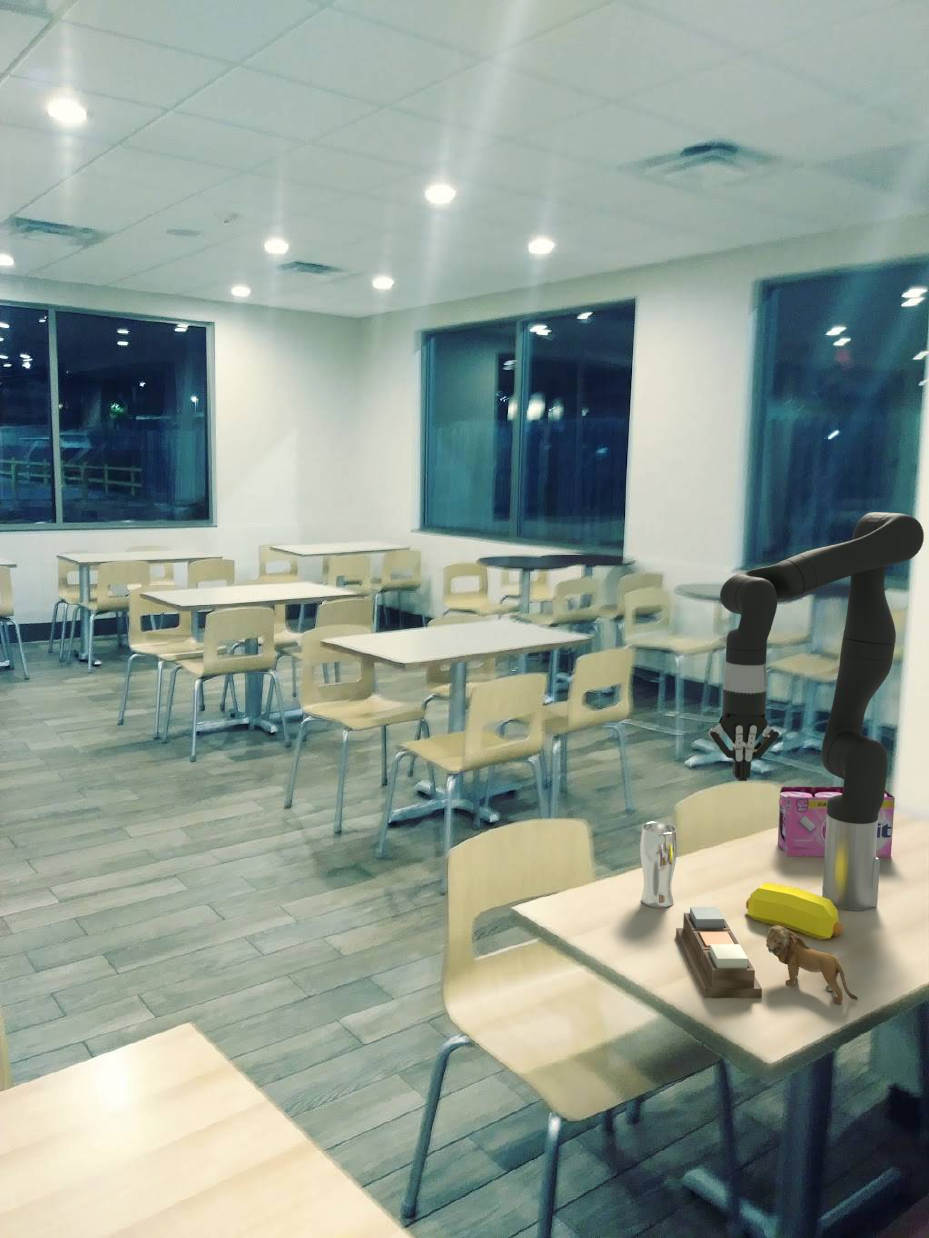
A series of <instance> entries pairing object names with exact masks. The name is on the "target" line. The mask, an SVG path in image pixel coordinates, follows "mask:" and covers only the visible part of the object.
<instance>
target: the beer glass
mask: <svg viewBox="0 0 929 1238" xmlns="http://www.w3.org/2000/svg"><path fill="white" fill-rule="evenodd" d="M639 847H640V848H639V849H640V851H639V852H640V853H639V855H640V862H641V868H642V875H643V889H642V894H641V902H642V903H643V904H644V905H646V906H648V907H651V908H655V909H656V908H657V909H662V908H663V909H664V908H668V907H671V906H672V905H673V904H674V897H673V890H672V887H673V885H672V883H673V876H674V872H675V868H676V863H677V856H678V835H677V826H675V825H674V824H672V823H669V822H664V821H649V822H645V823H643V824H642V825H641V832H640V845H639Z"/></svg>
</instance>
